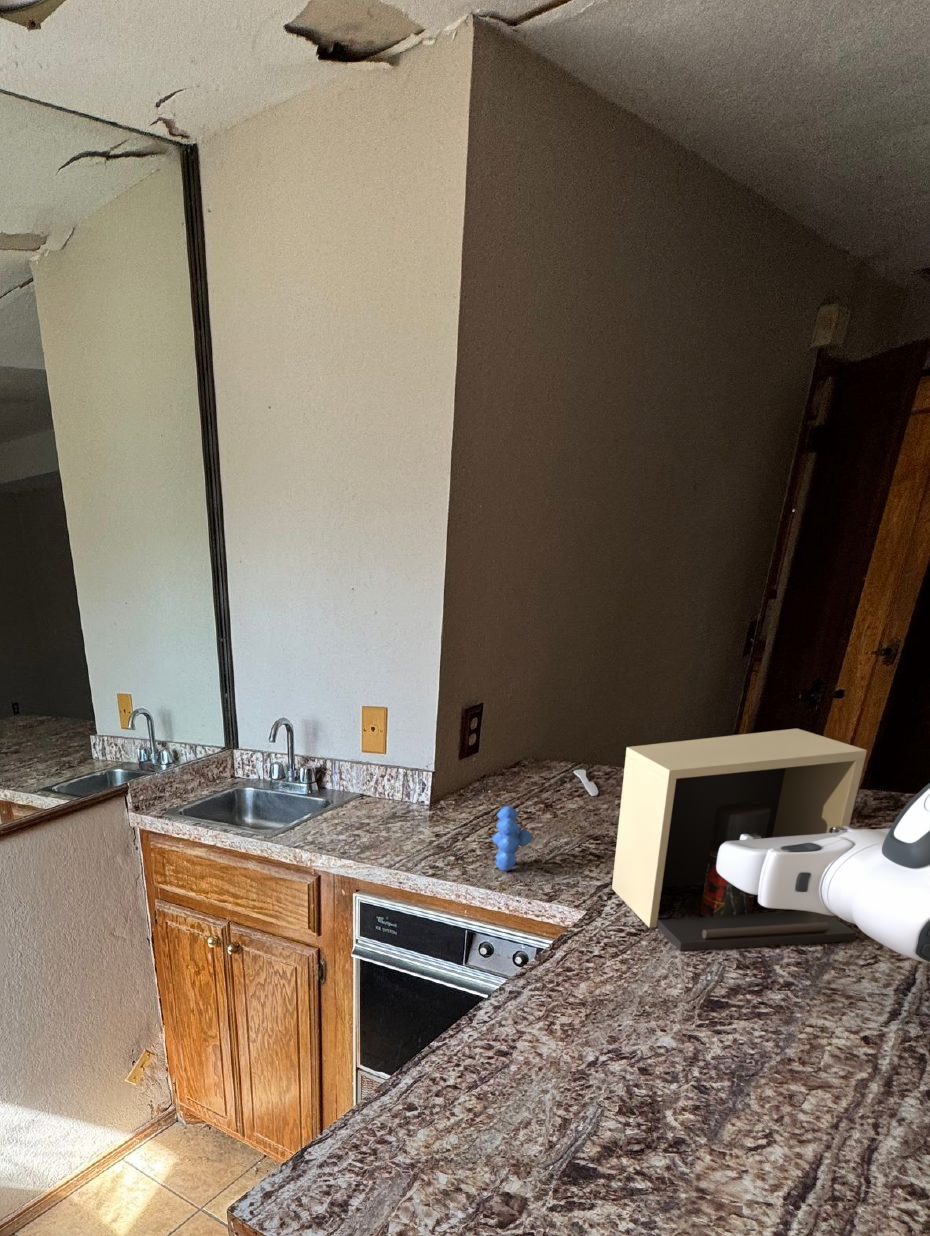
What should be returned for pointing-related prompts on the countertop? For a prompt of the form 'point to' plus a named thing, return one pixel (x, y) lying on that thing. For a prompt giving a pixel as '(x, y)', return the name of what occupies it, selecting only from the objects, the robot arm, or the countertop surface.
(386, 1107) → the countertop surface
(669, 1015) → the countertop surface
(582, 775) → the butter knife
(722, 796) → the cream cabinet
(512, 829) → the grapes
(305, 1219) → the countertop surface
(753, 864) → the robot arm
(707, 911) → the deodorant
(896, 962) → the countertop surface
